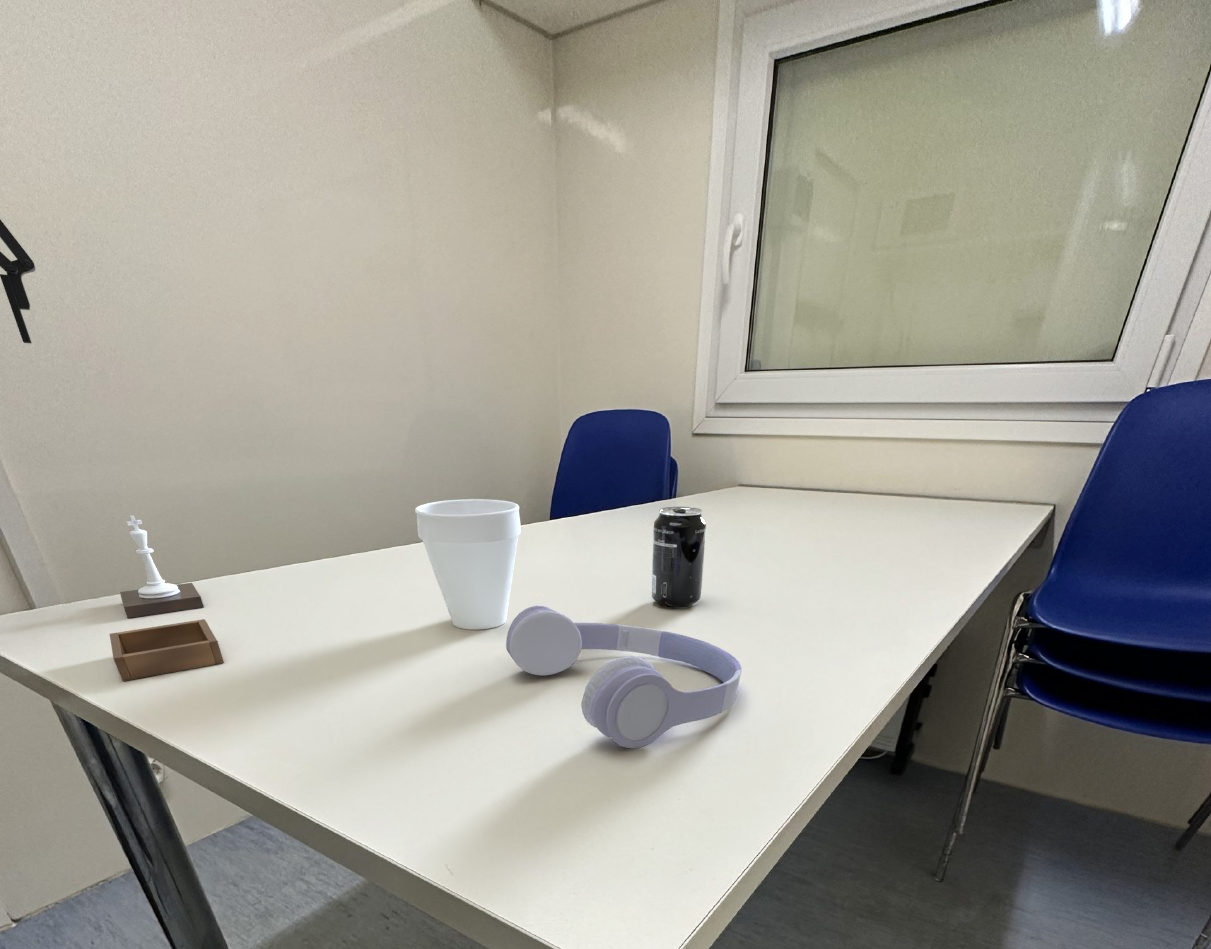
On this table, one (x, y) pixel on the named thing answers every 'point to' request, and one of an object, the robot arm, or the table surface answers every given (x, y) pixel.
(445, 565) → the cup
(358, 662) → the table surface
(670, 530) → the beverage can
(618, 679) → the headphones
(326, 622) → the table surface
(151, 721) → the table surface
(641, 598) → the table surface
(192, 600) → the walnut stand
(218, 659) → the oak box
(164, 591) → the chess piece
